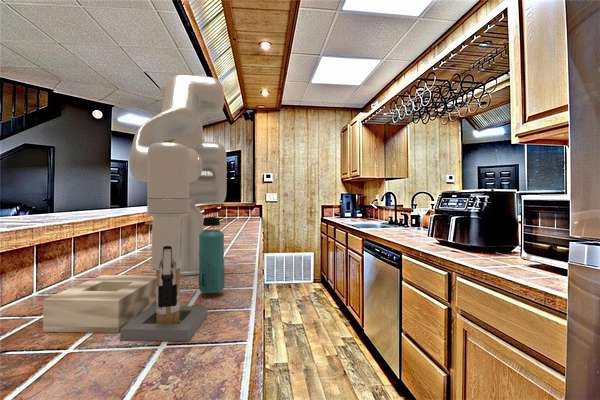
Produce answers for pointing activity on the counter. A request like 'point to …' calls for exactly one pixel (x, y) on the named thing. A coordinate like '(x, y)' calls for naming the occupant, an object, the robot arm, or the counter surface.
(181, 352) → the counter surface
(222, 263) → the beverage bottle
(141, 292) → the birch dock block
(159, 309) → the sprinkles bottle
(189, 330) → the charcoal collar
